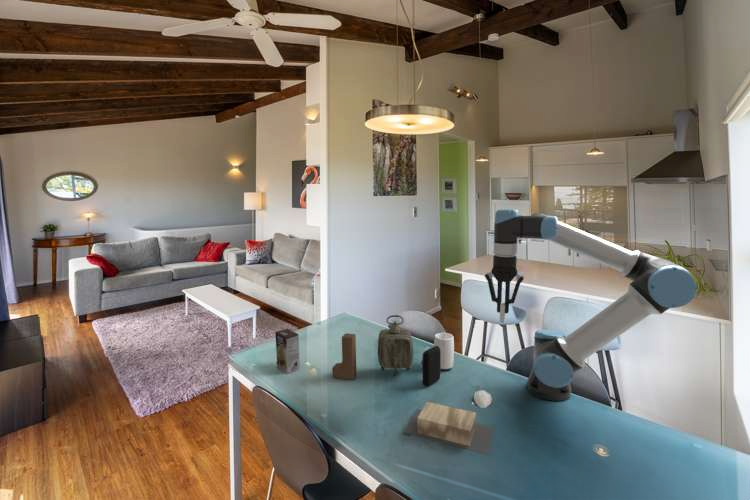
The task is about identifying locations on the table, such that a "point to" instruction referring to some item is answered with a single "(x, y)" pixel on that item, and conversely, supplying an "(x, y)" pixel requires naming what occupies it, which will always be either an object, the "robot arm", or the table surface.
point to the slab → (447, 423)
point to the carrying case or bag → (431, 366)
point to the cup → (445, 349)
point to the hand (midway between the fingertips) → (502, 321)
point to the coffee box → (287, 350)
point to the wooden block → (346, 359)
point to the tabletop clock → (395, 347)
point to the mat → (478, 442)
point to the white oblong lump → (482, 398)
